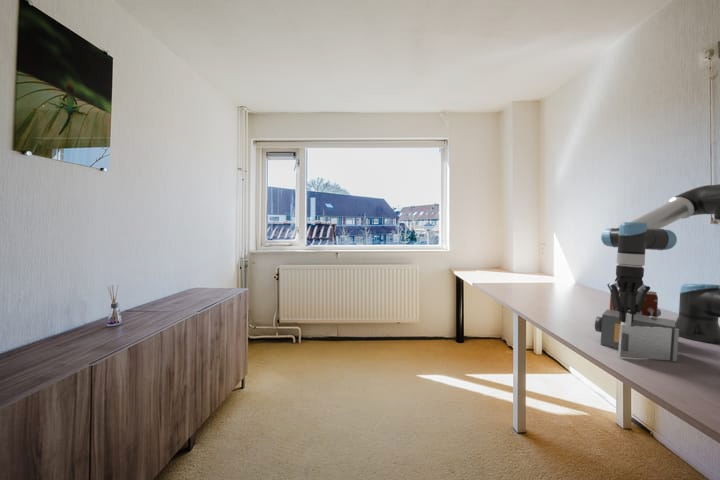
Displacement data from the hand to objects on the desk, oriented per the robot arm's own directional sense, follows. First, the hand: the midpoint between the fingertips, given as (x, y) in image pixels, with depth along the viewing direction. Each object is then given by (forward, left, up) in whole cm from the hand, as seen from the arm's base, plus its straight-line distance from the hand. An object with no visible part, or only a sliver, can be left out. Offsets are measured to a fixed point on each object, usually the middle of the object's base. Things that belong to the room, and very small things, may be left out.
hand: (625, 331), depth 113 cm
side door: (-4, +4, -8) cm, 10 cm away
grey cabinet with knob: (-10, -7, -9) cm, 15 cm away
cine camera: (-23, -21, -9) cm, 33 cm away
